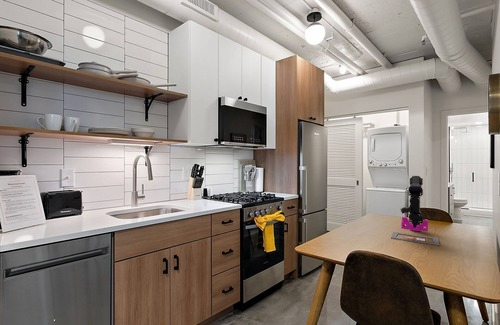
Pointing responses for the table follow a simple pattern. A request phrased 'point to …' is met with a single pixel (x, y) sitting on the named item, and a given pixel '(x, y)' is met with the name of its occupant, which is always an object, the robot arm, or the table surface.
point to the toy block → (410, 226)
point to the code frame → (435, 240)
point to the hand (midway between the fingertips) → (414, 226)
